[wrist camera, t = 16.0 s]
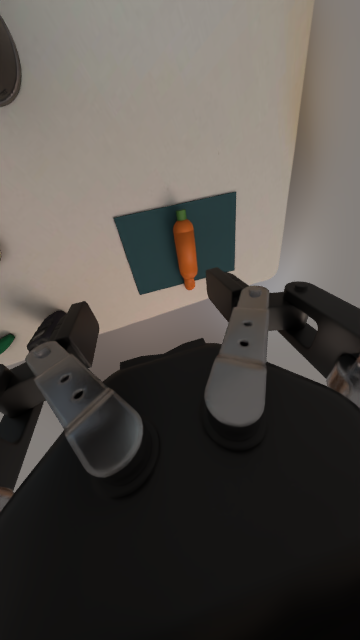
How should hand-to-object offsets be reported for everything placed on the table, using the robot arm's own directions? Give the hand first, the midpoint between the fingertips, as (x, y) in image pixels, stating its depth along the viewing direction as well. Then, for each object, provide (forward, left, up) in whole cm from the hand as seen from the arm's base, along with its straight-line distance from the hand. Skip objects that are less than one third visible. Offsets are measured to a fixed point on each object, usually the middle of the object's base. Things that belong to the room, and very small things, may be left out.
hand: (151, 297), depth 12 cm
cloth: (+5, +9, -28) cm, 30 cm away
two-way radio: (+14, -22, -28) cm, 38 cm away
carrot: (+5, +9, -28) cm, 30 cm away
